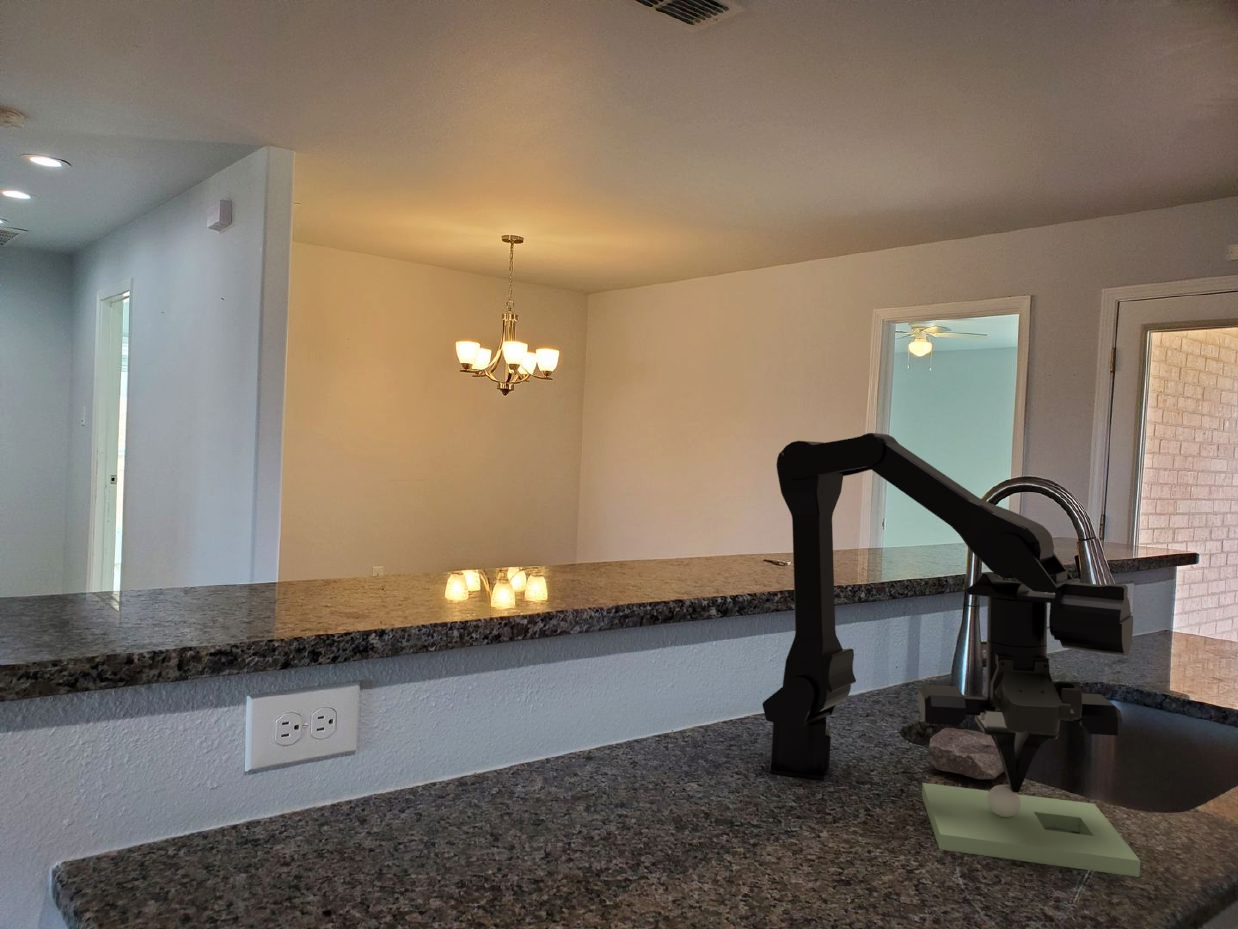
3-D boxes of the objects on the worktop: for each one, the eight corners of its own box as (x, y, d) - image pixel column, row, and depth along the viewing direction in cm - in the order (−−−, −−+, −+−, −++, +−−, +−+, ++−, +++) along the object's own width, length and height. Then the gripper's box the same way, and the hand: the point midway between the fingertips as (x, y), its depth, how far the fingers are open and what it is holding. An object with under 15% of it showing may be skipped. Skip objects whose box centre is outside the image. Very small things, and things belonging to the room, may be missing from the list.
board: (939, 850, 89) (940, 834, 89) (921, 796, 103) (922, 782, 102) (1139, 877, 85) (1140, 860, 85) (1093, 818, 99) (1094, 803, 99)
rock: (1030, 768, 112) (1031, 731, 112) (987, 790, 104) (988, 750, 104) (967, 751, 118) (968, 716, 118) (922, 770, 110) (923, 733, 110)
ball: (998, 783, 93) (1028, 801, 92) (995, 775, 96) (1024, 792, 95) (982, 809, 93) (1012, 827, 92) (980, 800, 96) (1009, 818, 95)
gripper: (934, 653, 88) (931, 814, 88) (1144, 664, 84) (1141, 831, 84) (918, 631, 98) (916, 774, 99) (1104, 640, 95) (1101, 788, 95)
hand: (1014, 791), depth 94 cm, fingers closed, pressing on ball
